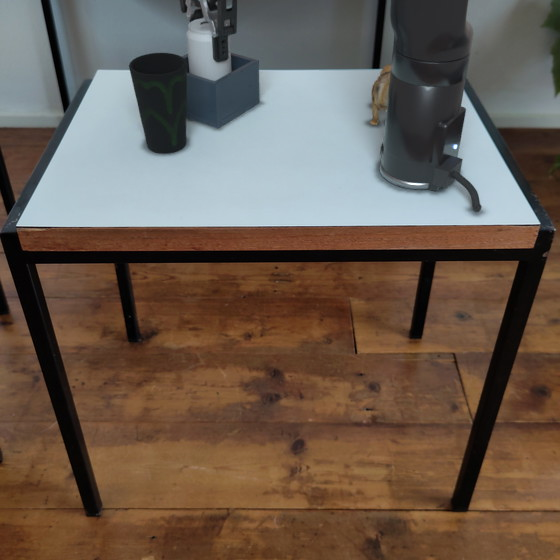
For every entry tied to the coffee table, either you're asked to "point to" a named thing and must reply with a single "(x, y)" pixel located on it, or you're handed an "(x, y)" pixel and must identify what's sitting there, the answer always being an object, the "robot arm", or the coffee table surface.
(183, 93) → the cup
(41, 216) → the coffee table surface
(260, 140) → the coffee table surface
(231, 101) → the open box
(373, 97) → the lion figurine
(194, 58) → the beverage can
